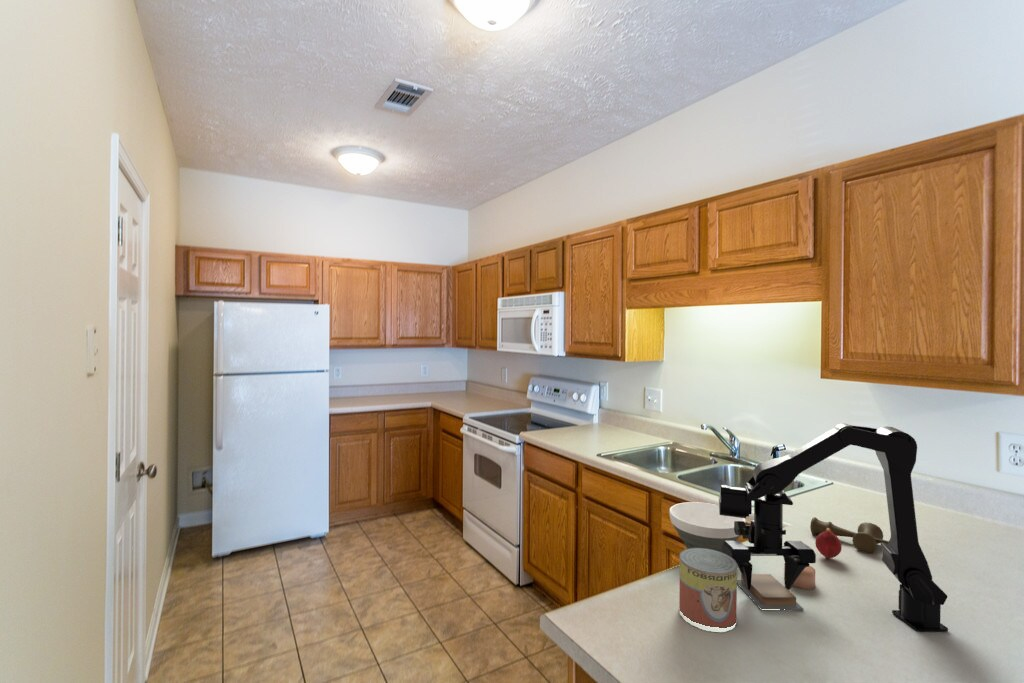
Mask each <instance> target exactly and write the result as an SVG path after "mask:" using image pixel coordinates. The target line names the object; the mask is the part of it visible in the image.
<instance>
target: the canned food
mask: <svg viewBox="0 0 1024 683" xmlns="http://www.w3.org/2000/svg"><path fill="white" fill-rule="evenodd" d="M678 558H679V595H678V596H679V601H678V602H679V608H680V611H681V612H682V613H683V615H684V616H686V617H687V618H689V619H690V620H691V621H693V622H696V623H699V624H702V625H705V626H710V627H719V628H727V627H731V626H733V625H734V624H735V623H736V620H737V607H738V606H737V600H738V599H737V597H738V595H737V594H738V592H737V591H738V590H737V587H738V584H737V580H738V572H737V571H738V565H737V562H736V561H735V560H734V559H733V558H732V557H730V556H729V555H727V554H725V553H722V552H719V551H716V550H712V549H707V548H689V549H688V548H686V549H683V550H682V551H680V553H679V556H678ZM679 608H678V609H679Z"/></svg>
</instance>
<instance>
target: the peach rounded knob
mask: <svg viewBox="0 0 1024 683" xmlns="http://www.w3.org/2000/svg"><path fill="white" fill-rule="evenodd" d="M784 579H785V562H784V563H783V580H784ZM792 587H796V588H798V589H803V590H808V589H809V590H811V589H814V588H815V587H816V569H815V568H814V567H813V566H811V564H810V565H809V567H805V569H804V570H803V571H802V572H801V573H800V575H799V576H798V577H797V579H796V580H795V582H794V583H793V585H792Z"/></svg>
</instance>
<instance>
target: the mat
mask: <svg viewBox="0 0 1024 683" xmlns="http://www.w3.org/2000/svg"><path fill="white" fill-rule="evenodd" d="M738 585H740V586H741V588H742V589H743V590H744V591H745V592H746V593H747V594H746V593H745V592H744V591H743V590H742V589H741V588H740V589H741V590H742V591H743V592H744V593H745V594H746V596H748V595H749V596H750V597H751V598H752V600H754V602H755V603H756V604H757V605H758V606H759V607H760V608H761V609H780V610H784V609H785V610H803V611H804V607H802V606H801V605H800V604H799V603H798V602H797V601H796V606H764V605H763V604H762V603H761V602H760V601H759V600H758V599H757V598H756V597H755V596H754V595H753V594H752V592H751V591H750V590H748V589H747V588H746V586H745V585H744V584H743V583H742V582H741V579H737V586H738ZM749 596H748V597H749ZM752 600H751V601H752ZM754 602H753V603H754ZM755 603H754V604H755ZM756 604H755V605H756ZM757 605H756V606H757ZM758 606H757V607H758ZM759 607H758V608H759ZM760 608H759V609H760Z"/></svg>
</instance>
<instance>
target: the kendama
mask: <svg viewBox="0 0 1024 683" xmlns="http://www.w3.org/2000/svg"><path fill="white" fill-rule="evenodd" d="M809 528H810V533H811V535H814V536H816V535H819V534H820V533H822V532H825V531H826V529H827V528H829V529H830V530H831V532H832V533H833V534H835V535H836V536H837V537H847V538H852V539H851V540H852V544H853V546H854V548H855V549H856V550H858V552H862V553H865V554H873V553H875V552H876V551H877V547H878V544H880V543H887V544H888V542H889V540H885V539H884V533H883V532H884V531H882V529H881V527H880V526H878V525H877V524H875V523H872V522H861V523H860V524H859V525H858V526H857V532H855V531H851V530H849V529H846V528H844V527H840V526H837V525H835V524H833V523H832V522H831V521H828V522H827V521H826V522H825V521H822V520H819V519H818V518H817V517H816V516H815V517H812V518H811V521H810V526H809Z"/></svg>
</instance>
